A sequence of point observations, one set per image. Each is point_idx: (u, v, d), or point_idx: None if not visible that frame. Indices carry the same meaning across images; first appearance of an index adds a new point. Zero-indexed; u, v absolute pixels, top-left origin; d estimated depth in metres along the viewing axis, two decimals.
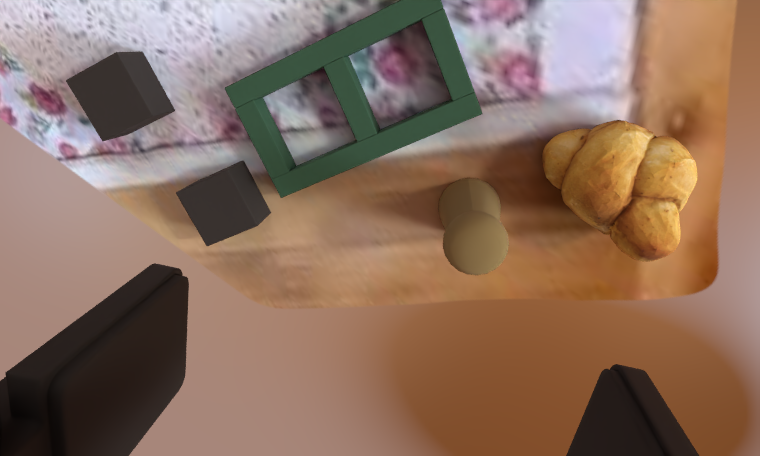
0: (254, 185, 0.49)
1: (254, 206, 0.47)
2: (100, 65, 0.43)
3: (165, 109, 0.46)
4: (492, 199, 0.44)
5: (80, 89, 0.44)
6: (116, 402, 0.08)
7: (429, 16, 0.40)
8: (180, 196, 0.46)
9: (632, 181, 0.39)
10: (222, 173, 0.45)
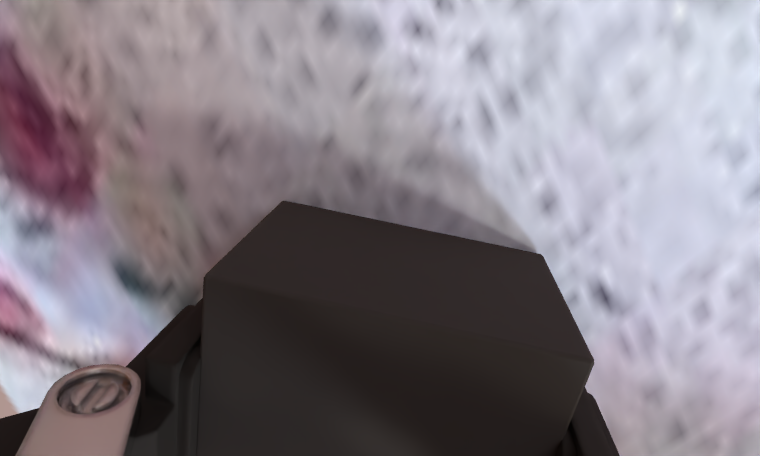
0: None
1: None
2: (452, 349, 0.07)
3: None
4: None
5: (248, 356, 0.08)
6: None
7: None
8: None
9: None
10: None
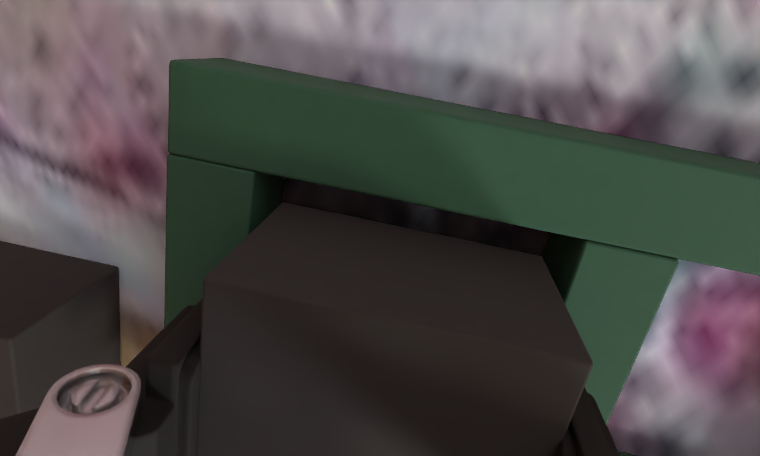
0: (110, 349, 0.15)
1: None
2: (451, 351, 0.07)
3: None
4: None
5: (248, 357, 0.08)
6: None
7: None
8: None
9: None
10: None
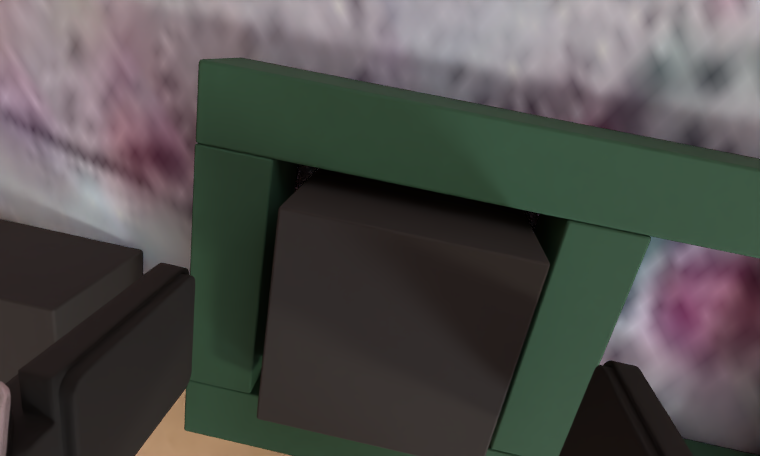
0: None
1: None
2: (451, 257, 0.10)
3: None
4: None
5: (308, 266, 0.11)
6: (125, 400, 0.09)
7: None
8: None
9: None
10: (30, 310, 0.12)
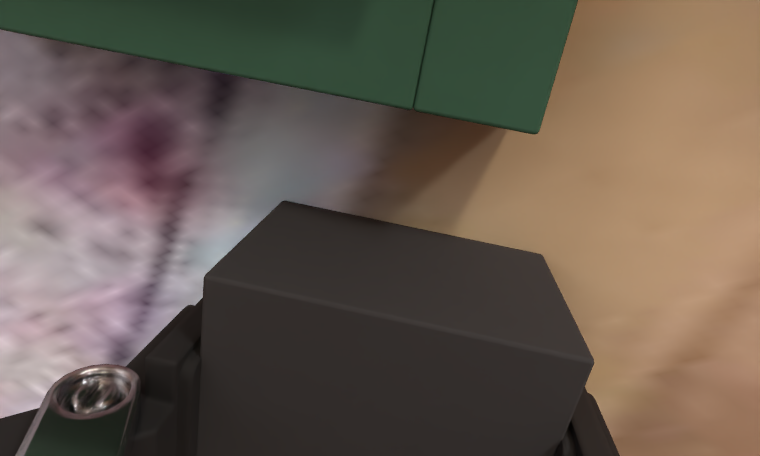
0: (395, 231, 0.10)
1: (480, 297, 0.08)
2: None
3: None
4: None
5: None
6: None
7: None
8: None
9: None
10: (209, 312, 0.08)
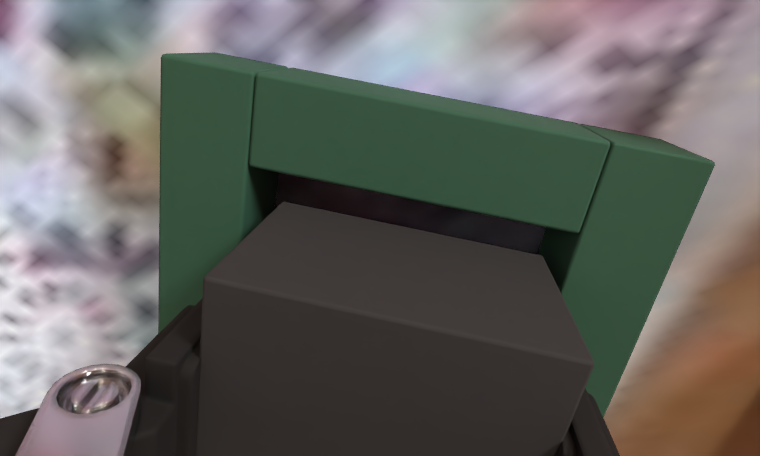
0: (395, 232, 0.10)
1: (480, 298, 0.08)
2: None
3: None
4: None
5: None
6: None
7: (255, 135, 0.10)
8: None
9: None
10: (209, 314, 0.08)
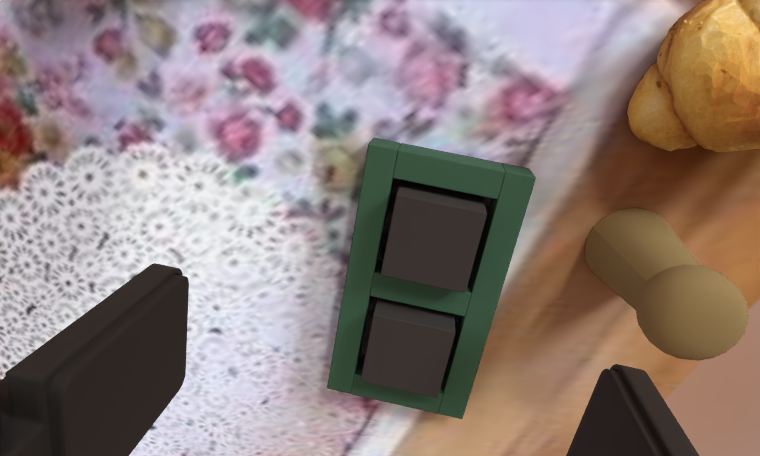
0: (437, 188, 0.35)
1: (461, 202, 0.32)
2: (373, 339, 0.36)
3: (450, 313, 0.37)
4: (644, 229, 0.31)
5: (378, 376, 0.37)
6: (116, 402, 0.08)
7: (396, 168, 0.32)
8: (388, 273, 0.34)
9: None
10: (397, 203, 0.32)
